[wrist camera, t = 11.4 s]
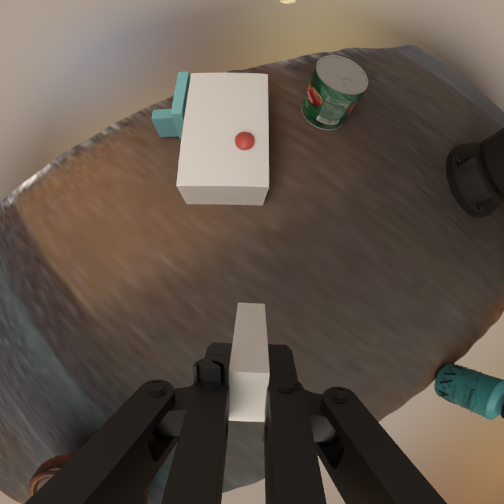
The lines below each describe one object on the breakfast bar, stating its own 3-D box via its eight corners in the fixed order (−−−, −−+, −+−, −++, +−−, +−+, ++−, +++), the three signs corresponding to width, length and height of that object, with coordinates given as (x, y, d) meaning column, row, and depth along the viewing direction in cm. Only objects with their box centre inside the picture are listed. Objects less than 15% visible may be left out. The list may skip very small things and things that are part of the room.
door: (194, 99, 43) (188, 71, 36) (189, 139, 42) (181, 113, 35) (168, 100, 43) (159, 73, 35) (161, 140, 42) (149, 115, 34)
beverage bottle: (451, 355, 41) (531, 374, 21) (454, 384, 40) (528, 411, 20) (426, 371, 40) (507, 402, 20) (430, 401, 40) (503, 438, 20)
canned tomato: (293, 98, 44) (306, 56, 34) (332, 91, 45) (351, 53, 34) (312, 135, 44) (332, 97, 33) (352, 126, 44) (377, 91, 34)
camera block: (262, 96, 44) (267, 64, 36) (262, 205, 42) (269, 185, 33) (196, 96, 43) (190, 63, 35) (185, 204, 41) (173, 184, 33)
